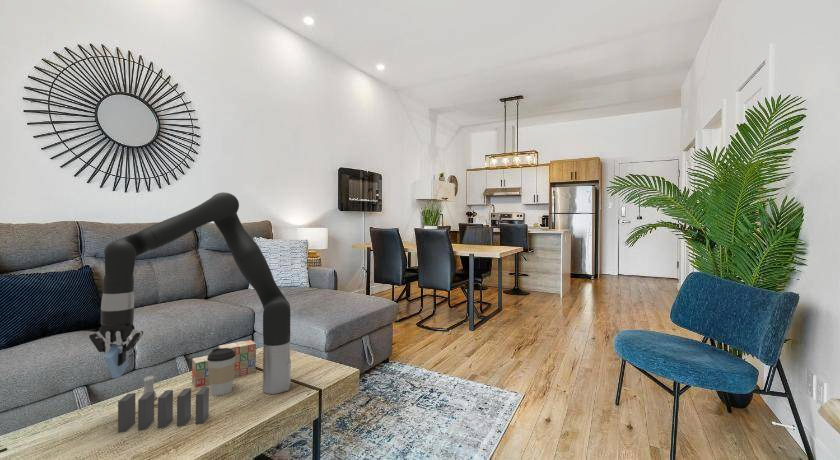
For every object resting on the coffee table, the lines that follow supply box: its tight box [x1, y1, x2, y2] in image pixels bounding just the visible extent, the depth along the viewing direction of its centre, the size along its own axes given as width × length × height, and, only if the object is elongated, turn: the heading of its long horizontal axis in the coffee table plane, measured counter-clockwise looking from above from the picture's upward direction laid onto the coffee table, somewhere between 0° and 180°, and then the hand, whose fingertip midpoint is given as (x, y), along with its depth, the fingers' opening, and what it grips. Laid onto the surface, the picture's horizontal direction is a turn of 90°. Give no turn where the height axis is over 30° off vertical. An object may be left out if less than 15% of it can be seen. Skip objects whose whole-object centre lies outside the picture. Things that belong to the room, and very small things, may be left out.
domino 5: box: [195, 386, 210, 425], centre depth 110 cm, size 2×5×9 cm, turn 14°
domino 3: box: [157, 389, 174, 429], centre depth 108 cm, size 2×5×9 cm, turn 14°
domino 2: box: [137, 390, 155, 431], centre depth 107 cm, size 2×5×9 cm, turn 14°
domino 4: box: [176, 388, 192, 427], centre depth 109 cm, size 2×5×9 cm, turn 14°
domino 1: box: [117, 392, 136, 434], centre depth 105 cm, size 2×5×9 cm, turn 14°
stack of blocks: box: [191, 339, 257, 388], centre depth 141 cm, size 21×6×12 cm, turn 132°
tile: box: [103, 344, 130, 379], centre depth 107 cm, size 2×5×9 cm, turn 13°
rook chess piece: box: [140, 375, 158, 401], centre depth 122 cm, size 4×4×8 cm
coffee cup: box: [207, 347, 236, 397], centre depth 129 cm, size 9×9×15 cm
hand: (115, 365), depth 106 cm, fingers closed on tile, 1 cm apart
